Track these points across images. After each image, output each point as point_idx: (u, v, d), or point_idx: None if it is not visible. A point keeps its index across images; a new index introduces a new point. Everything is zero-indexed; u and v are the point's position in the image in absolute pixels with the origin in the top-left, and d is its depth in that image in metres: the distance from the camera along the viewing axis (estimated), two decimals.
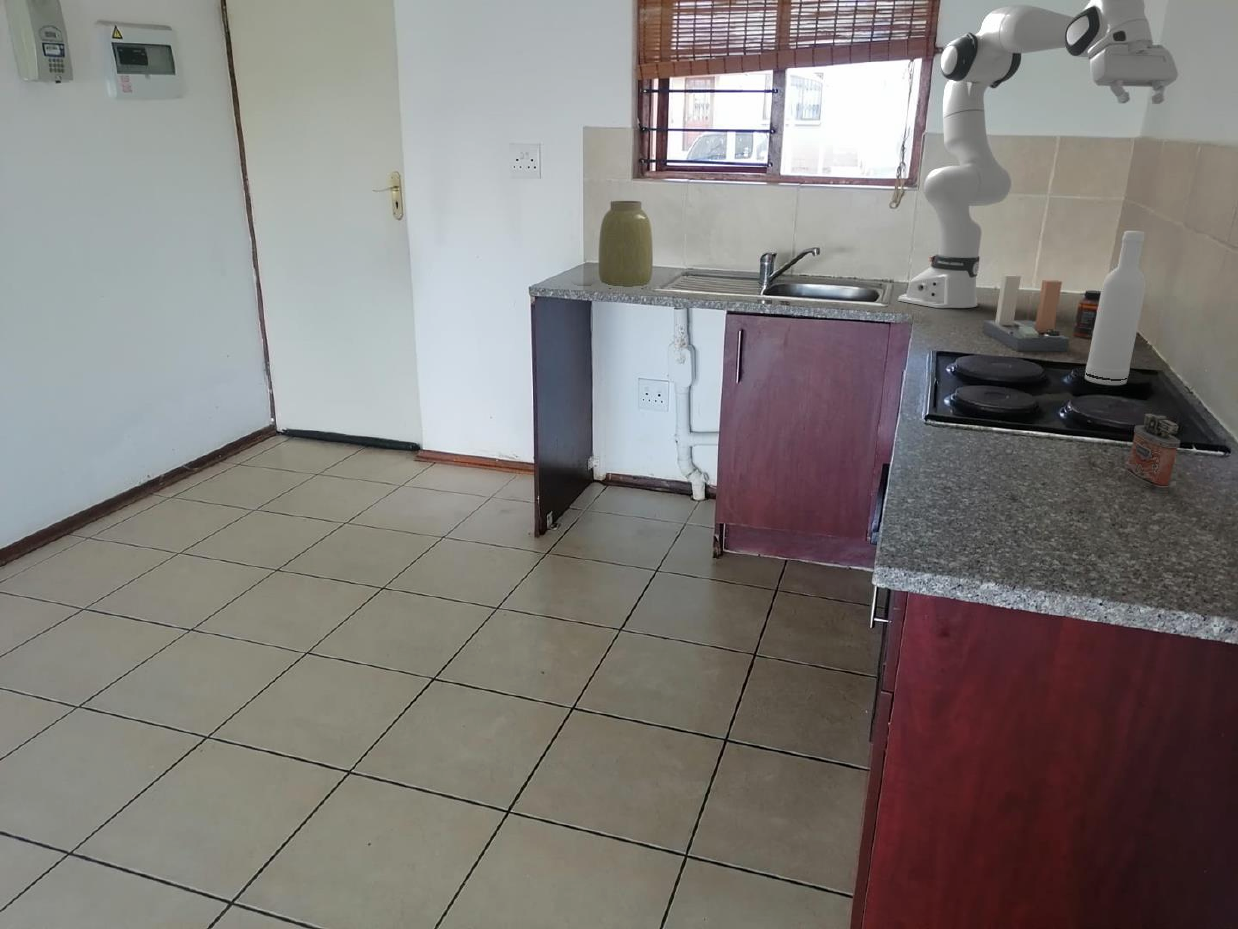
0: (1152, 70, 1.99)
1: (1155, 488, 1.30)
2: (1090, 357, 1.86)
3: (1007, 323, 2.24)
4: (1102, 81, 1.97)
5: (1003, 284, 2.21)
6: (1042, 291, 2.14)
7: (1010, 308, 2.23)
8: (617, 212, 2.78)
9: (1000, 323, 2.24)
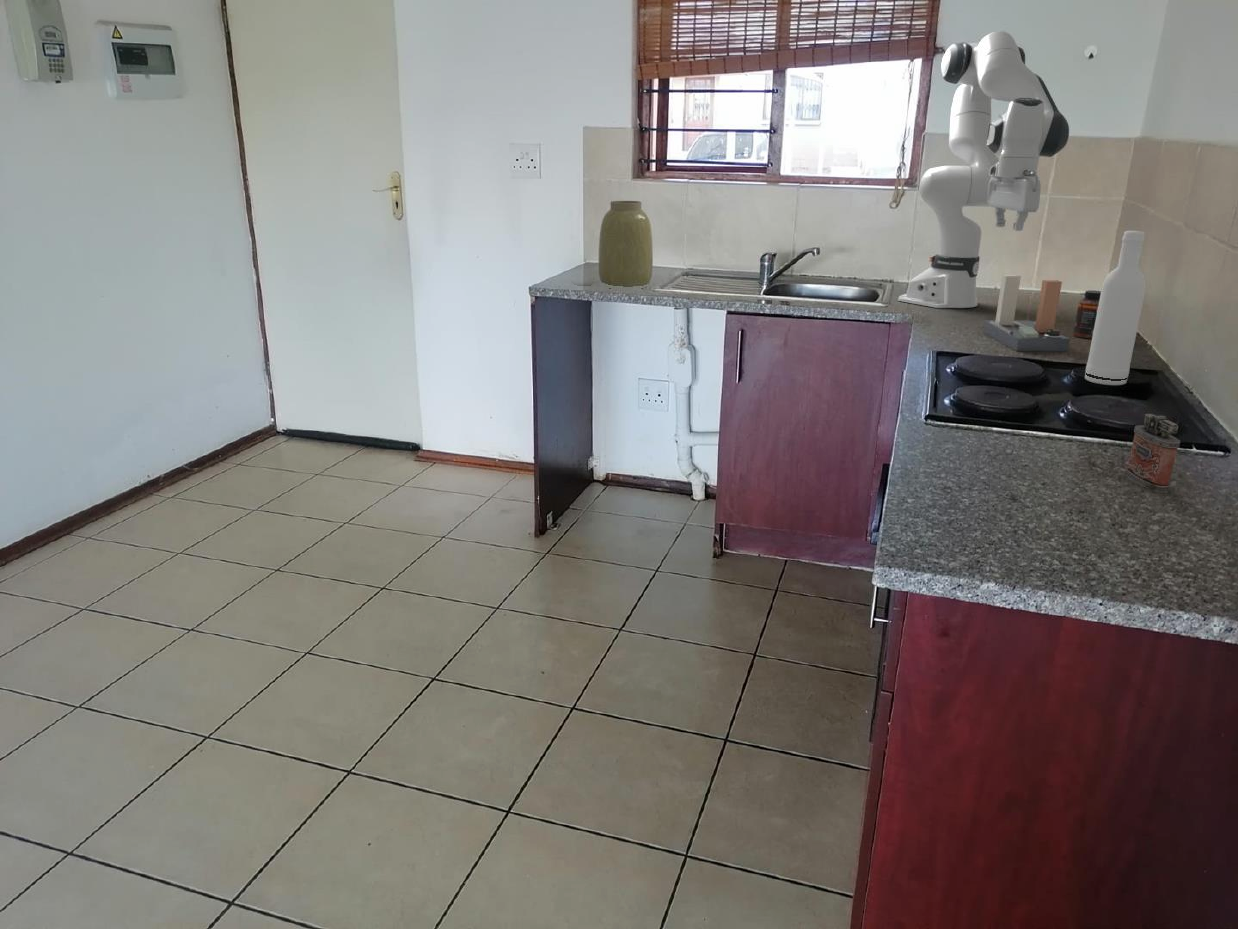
0: (1010, 202, 2.19)
1: (1155, 488, 1.30)
2: (1090, 357, 1.86)
3: (1007, 323, 2.24)
4: None
5: (1003, 284, 2.21)
6: (1042, 291, 2.14)
7: (1010, 308, 2.23)
8: (617, 212, 2.78)
9: (1000, 323, 2.24)
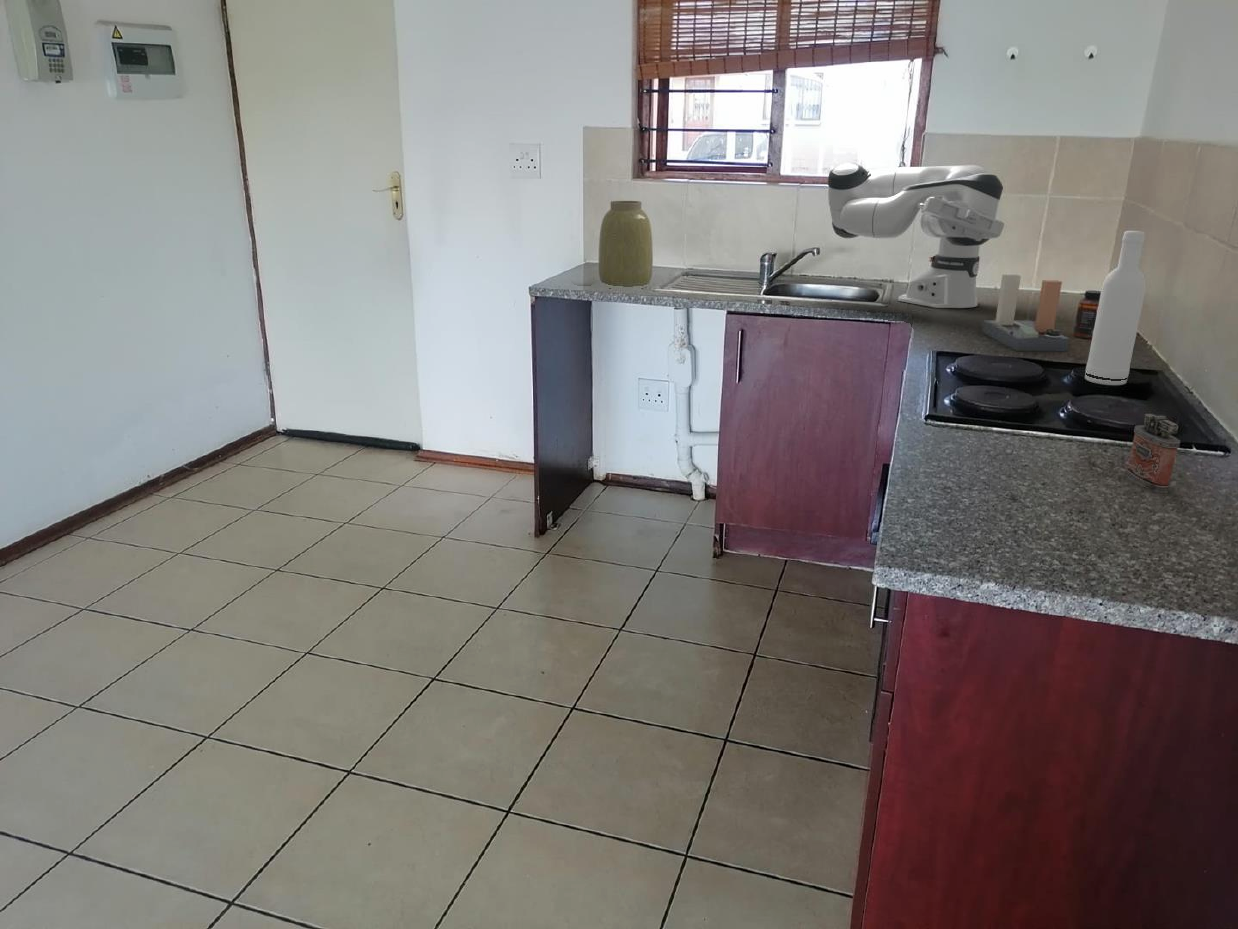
0: (950, 220, 2.26)
1: (1155, 488, 1.30)
2: (1090, 357, 1.86)
3: (1007, 323, 2.24)
4: (1001, 229, 2.25)
5: (1003, 284, 2.21)
6: (1042, 291, 2.14)
7: (1010, 308, 2.23)
8: (617, 212, 2.78)
9: (1000, 323, 2.24)
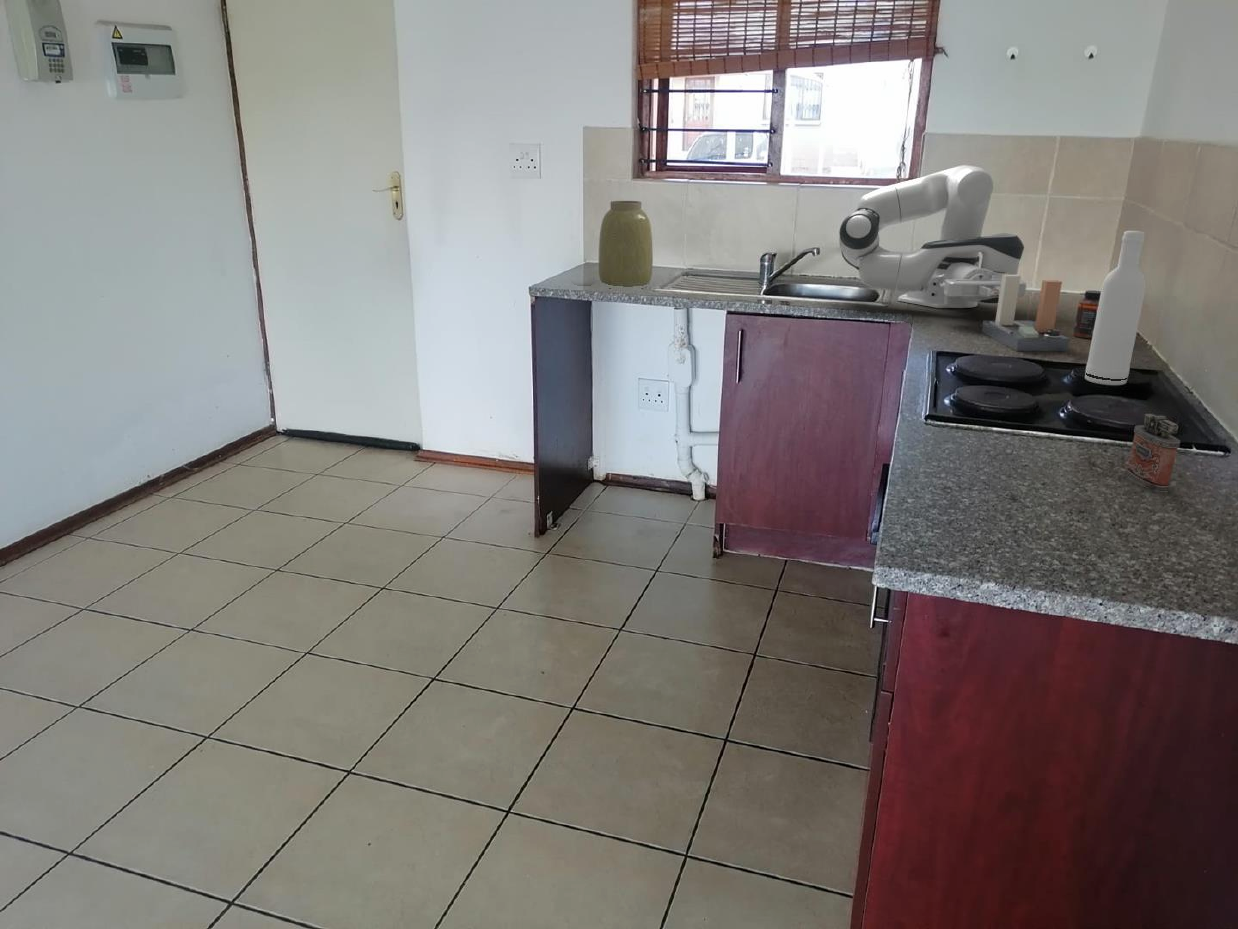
0: None
1: (1155, 488, 1.30)
2: (1090, 357, 1.86)
3: (1007, 323, 2.24)
4: (1024, 290, 2.34)
5: (1003, 284, 2.21)
6: (1042, 291, 2.14)
7: (1010, 308, 2.23)
8: (617, 212, 2.78)
9: (1000, 323, 2.24)
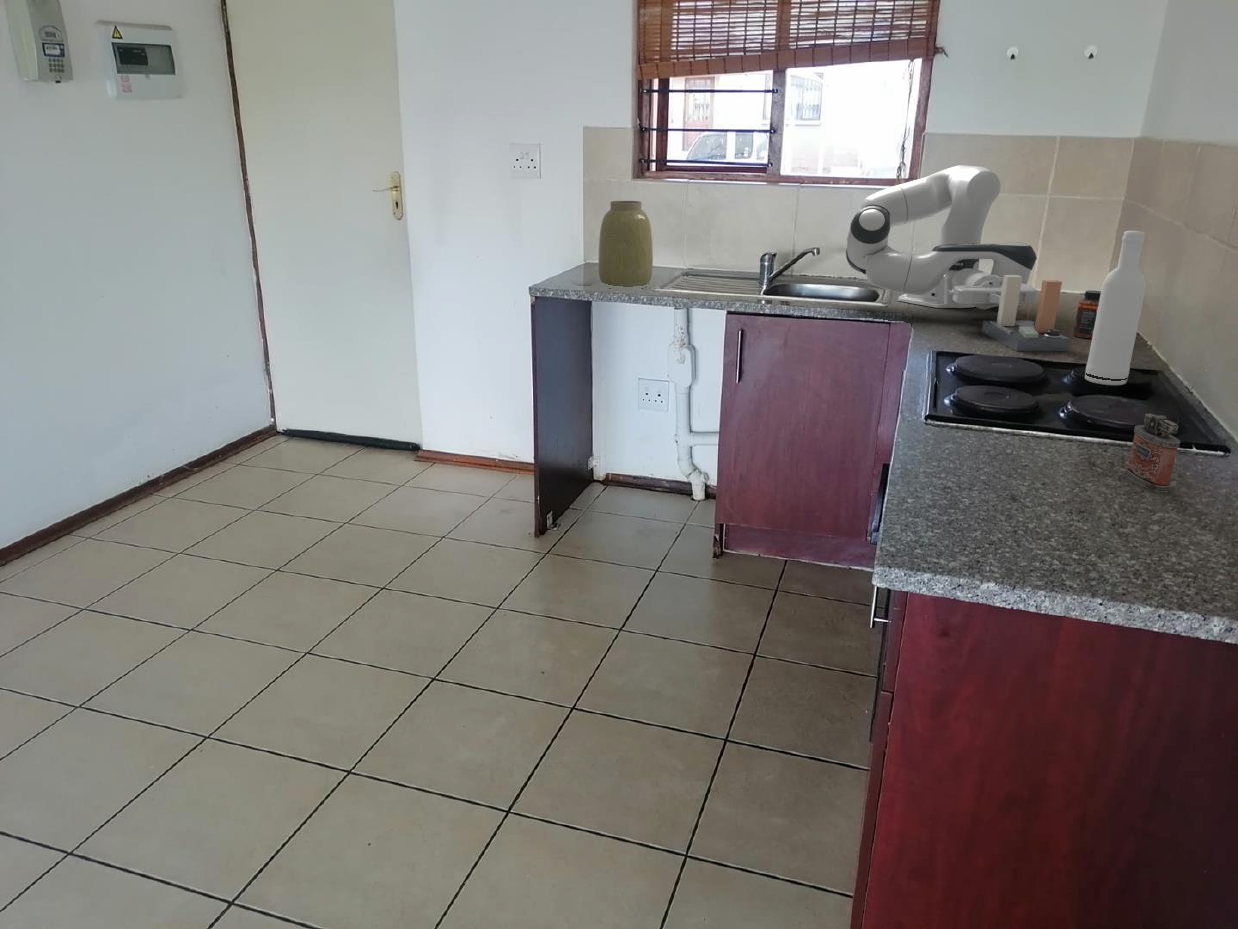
0: None
1: (1155, 488, 1.30)
2: (1090, 357, 1.86)
3: (1008, 324, 2.23)
4: (1035, 297, 2.28)
5: (1005, 285, 2.20)
6: (1042, 291, 2.14)
7: (1011, 309, 2.22)
8: (617, 212, 2.78)
9: (1001, 324, 2.23)
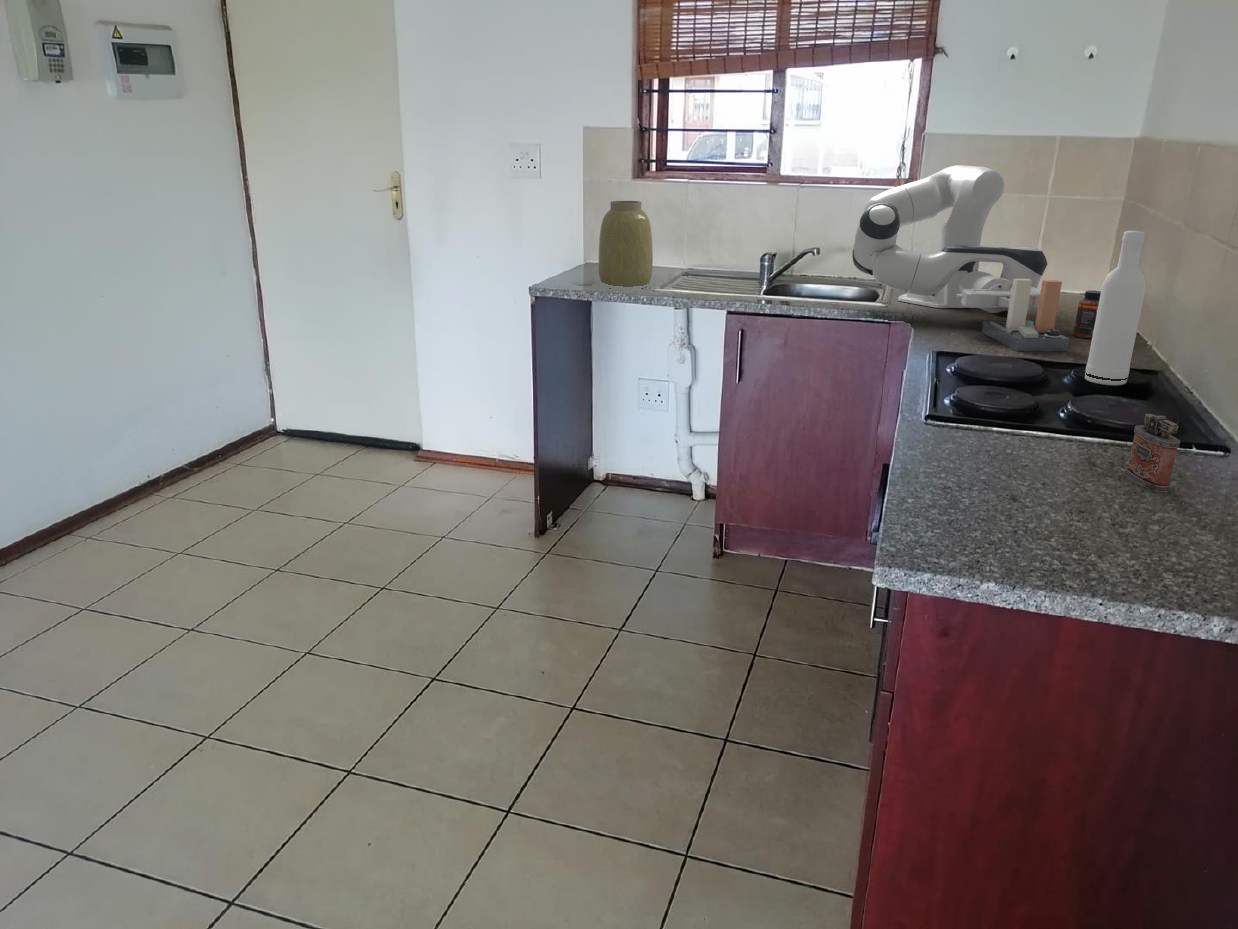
0: None
1: (1155, 488, 1.30)
2: (1090, 357, 1.86)
3: (1018, 328, 2.18)
4: None
5: (1014, 289, 2.15)
6: (1042, 291, 2.14)
7: (1021, 313, 2.17)
8: (617, 212, 2.78)
9: (1011, 328, 2.18)
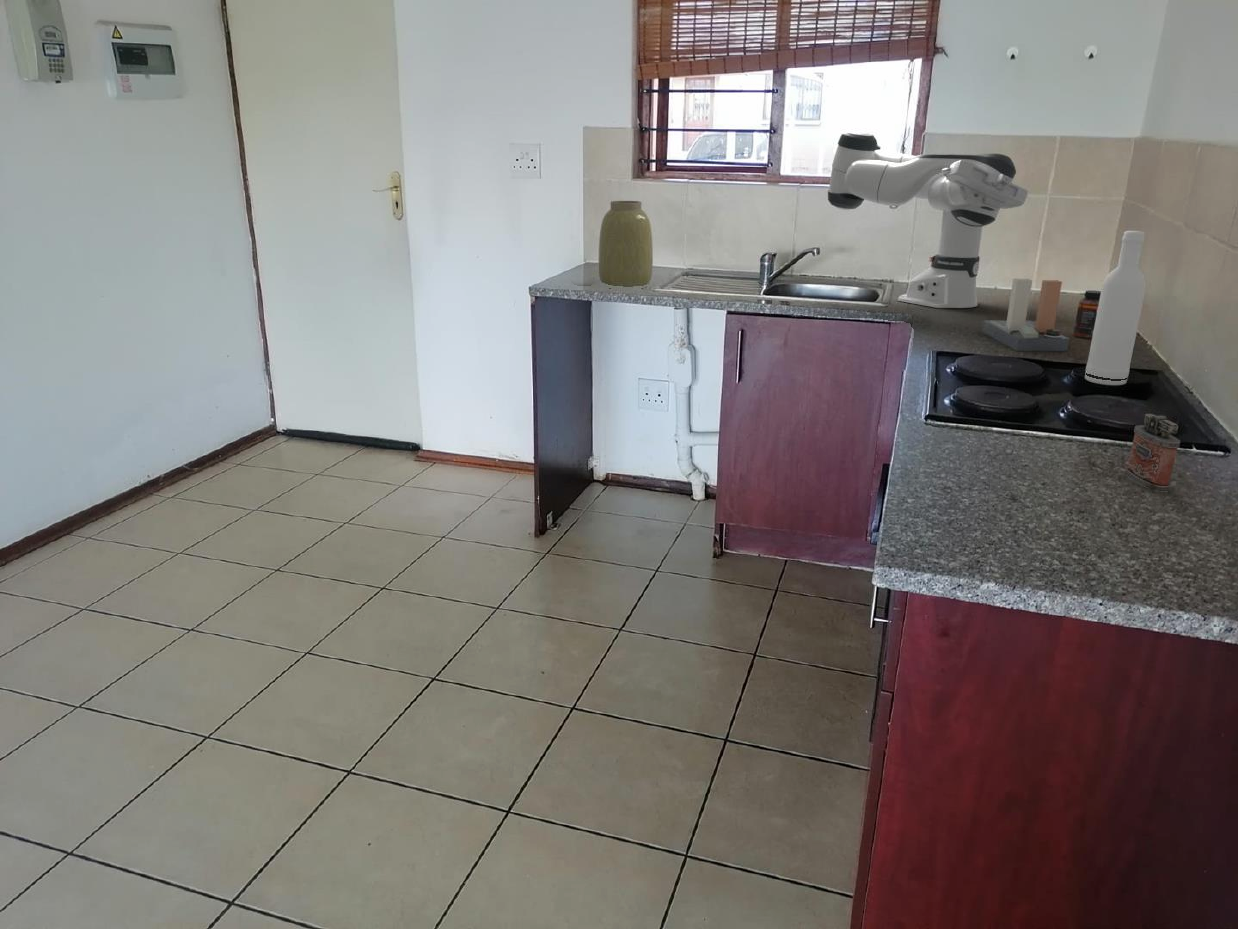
0: (977, 185, 2.19)
1: (1155, 488, 1.30)
2: (1090, 357, 1.86)
3: (1018, 328, 2.18)
4: (1025, 197, 2.20)
5: (1014, 289, 2.15)
6: (1042, 291, 2.14)
7: (1021, 313, 2.17)
8: (617, 212, 2.78)
9: (1011, 328, 2.18)
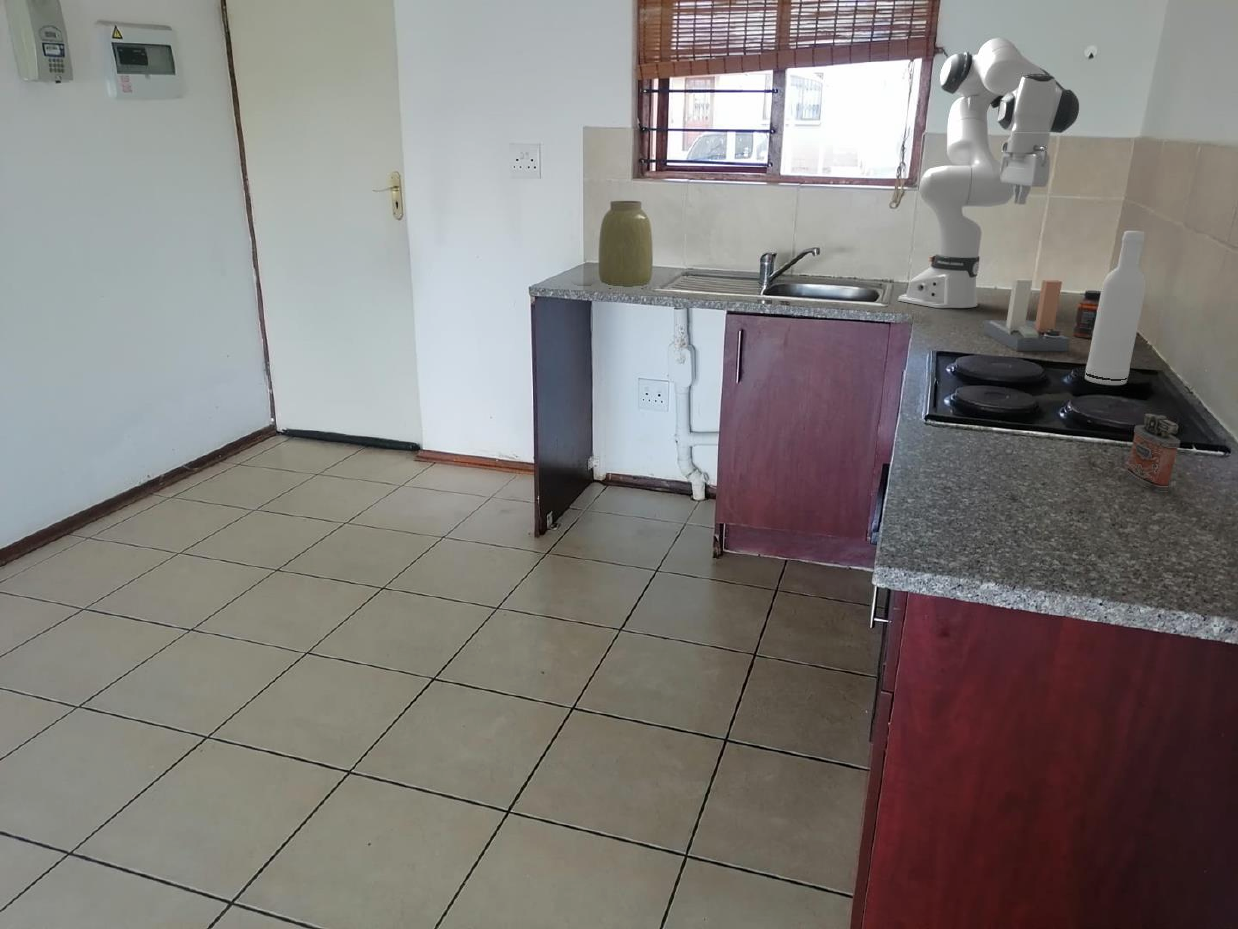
0: (1021, 177, 2.22)
1: (1155, 488, 1.30)
2: (1090, 357, 1.86)
3: (1018, 328, 2.18)
4: None
5: (1014, 289, 2.15)
6: (1042, 291, 2.14)
7: (1021, 313, 2.17)
8: (617, 212, 2.78)
9: (1011, 328, 2.18)
